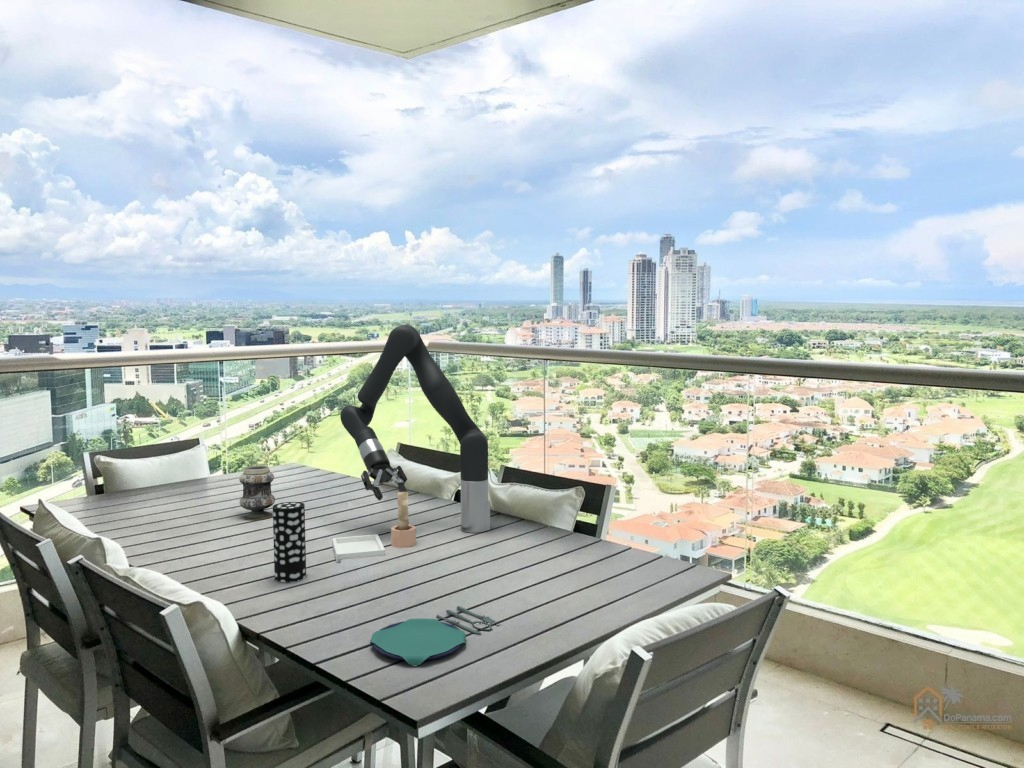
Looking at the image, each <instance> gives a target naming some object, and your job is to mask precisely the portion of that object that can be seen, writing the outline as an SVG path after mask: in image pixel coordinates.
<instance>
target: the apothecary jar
mask: <svg viewBox="0 0 1024 768" xmlns="http://www.w3.org/2000/svg"><path fill="white" fill-rule="evenodd" d="M238 480H239V482H240V483H241V484H242V488H243V489H242V497H241V498H240V499H239V505H240V506H241V508H243V509H245V510H247V511H249V512H248V513H246V514H244V515H243V519H244V518H245V520H247V519H249V521H253V520H254V521H257V520H258V521H259V520H266V519H269V518H271V517H273V512H270V511H267V510H266V509H268V508H270V507H273V505H275V501H276V498H275V496H274V495H273V494H272V482H273V481H274V480H275V475H274V473H272V472H271V471H270V468H269V465H250V466H245V467H244V469H243V473H241V475H240V476H239V479H238Z"/></svg>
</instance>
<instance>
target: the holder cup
mask: <svg viewBox="0 0 1024 768" xmlns="http://www.w3.org/2000/svg"><path fill="white" fill-rule="evenodd" d="M408 526H409V530H398V524H396V525H394V526H392V527H391V526H390V545H391V546H392V547H394V548H400V549H402V548H409V547H410V548H411V547H413V546H415V545H416V544H417V535H416V532H417V530H416V529H417V528H416V526H415V525H411V524H408Z"/></svg>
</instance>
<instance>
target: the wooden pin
mask: <svg viewBox="0 0 1024 768" xmlns="http://www.w3.org/2000/svg"><path fill="white" fill-rule="evenodd" d="M397 525H398V530H409V526H408V525H409V492H408V491H407V492H400V491H399V492H397Z"/></svg>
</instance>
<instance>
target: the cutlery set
mask: <svg viewBox="0 0 1024 768" xmlns="http://www.w3.org/2000/svg"><path fill="white" fill-rule="evenodd" d="M456 610H457V611H460V612H461V613H465V614H466V615H468V616H471V617H473V618H478V619H481V621H477V620H476V621H475V620H474V621H473V620H470V619H468V618H467V617H465V616H463V615H461V614H460V613H457V612H455V611H453V610H451V609H447V610H446V611H445V613H446V614H448V615H451V616H455V617H457V618H459V619H461V620H463V621H466V622H468V623H469V624H472V626H473V628H474V629H473V628H470V627H468V626H466V625H463V624H461V623H460V621H457V620H451V619H450V618H446V617H444V616H441V615H439V614H436V617H435V618H436V619H435V618H409V619H407V620H405V621H399V622H395V623H392V624H388V625H387V626H385V627H382V628H380V629H379V630H377V631H375V632H373V633H372V635H371V638H370V640H369V641H370V642H369V644H370V645H373V647H374V649H375V650H376V651H378V652H379V653H380V654H381V655H384V656H388V657H390V658H393V659H399V660H405V662H407V664H408V665H410V666H411V665H419V666H421V664H422V663H424V661H427V660H431V659H432V660H433V659H437V658H438V659H439V658H442V657H445V656H448V655H450V654H452V653H453V652H455V651H458V650H459V649H460V648H461V647H462V646H465V645H466V638H467V635H466V632H469V631H470V633H471V634H474V633H475V635H479V634H481V635H482V632H481V631H489V630H492V629H493V626H494V625H493V623H495V622H497V621H496V620H494V619H492V618H490V616H486V615H485V614H484V615H481V614H478V613H477V614H476V613H474V612H472V611H470V610H468V609H467V608H465V607H463V606H461V605H457V606H456ZM437 618H438V619H442V620H445V621H447V622H449V623H447V622H443V621H440V620H438V619H437ZM485 622H486V623H485ZM476 623H479V624H478V625H482V624H485V625H484V626H486V625H488V626H489V627H490V629H489V627H488V626H487V627H488V629H487V628H480V627H477V626H476V625H477V624H476ZM481 623H482V624H481ZM488 623H490V624H488ZM474 624H476V625H474ZM491 624H492V625H491ZM458 627H459V628H458ZM460 628H461V629H463V630H461V629H460ZM476 628H477V629H476ZM479 629H480V631H478V630H479ZM465 631H466V632H465ZM462 644H463V645H462Z"/></svg>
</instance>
